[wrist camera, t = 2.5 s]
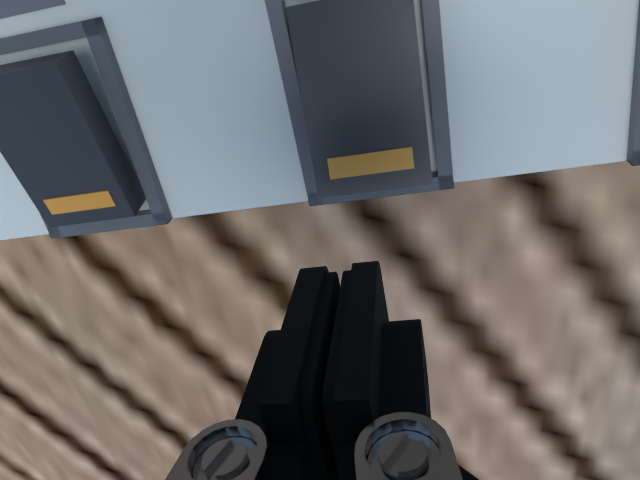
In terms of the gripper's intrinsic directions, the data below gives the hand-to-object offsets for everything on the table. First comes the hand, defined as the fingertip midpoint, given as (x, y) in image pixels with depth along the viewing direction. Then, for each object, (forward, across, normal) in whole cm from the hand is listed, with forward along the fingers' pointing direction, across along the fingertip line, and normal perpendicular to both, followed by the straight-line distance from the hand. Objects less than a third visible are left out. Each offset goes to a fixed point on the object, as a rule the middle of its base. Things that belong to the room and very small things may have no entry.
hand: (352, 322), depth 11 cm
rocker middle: (+11, 0, -2) cm, 11 cm away
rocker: (+11, +13, -2) cm, 17 cm away
